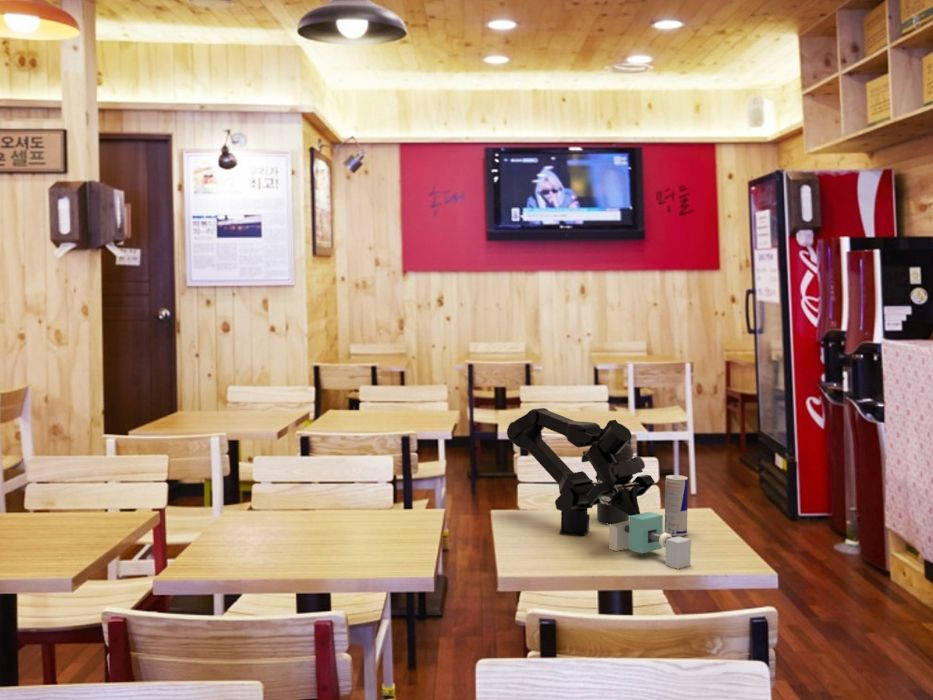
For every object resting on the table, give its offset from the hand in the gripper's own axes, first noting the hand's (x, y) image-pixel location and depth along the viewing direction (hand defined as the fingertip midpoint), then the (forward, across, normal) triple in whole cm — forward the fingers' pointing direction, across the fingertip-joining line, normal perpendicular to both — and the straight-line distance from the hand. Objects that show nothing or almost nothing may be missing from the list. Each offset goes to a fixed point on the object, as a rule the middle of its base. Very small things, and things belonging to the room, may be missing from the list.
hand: (638, 518), depth 213 cm
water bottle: (-11, +16, +23) cm, 31 cm away
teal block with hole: (+6, 0, +3) cm, 7 cm away
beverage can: (+2, +20, +10) cm, 22 cm away
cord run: (+8, 0, +4) cm, 9 cm away
